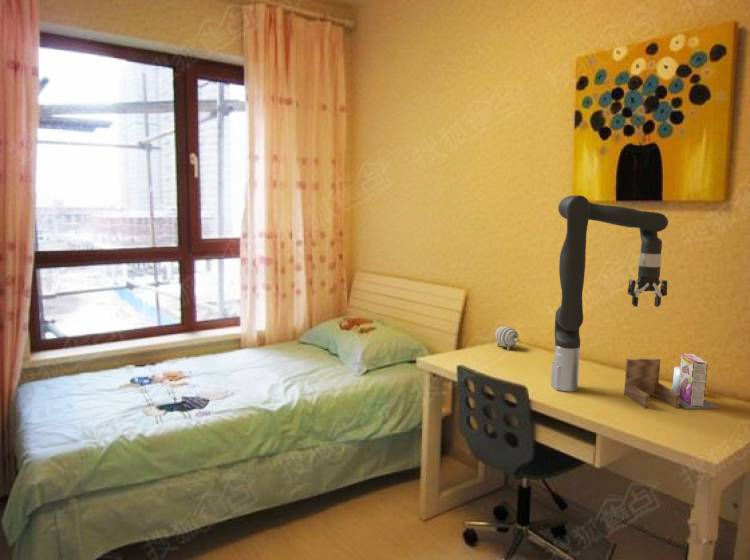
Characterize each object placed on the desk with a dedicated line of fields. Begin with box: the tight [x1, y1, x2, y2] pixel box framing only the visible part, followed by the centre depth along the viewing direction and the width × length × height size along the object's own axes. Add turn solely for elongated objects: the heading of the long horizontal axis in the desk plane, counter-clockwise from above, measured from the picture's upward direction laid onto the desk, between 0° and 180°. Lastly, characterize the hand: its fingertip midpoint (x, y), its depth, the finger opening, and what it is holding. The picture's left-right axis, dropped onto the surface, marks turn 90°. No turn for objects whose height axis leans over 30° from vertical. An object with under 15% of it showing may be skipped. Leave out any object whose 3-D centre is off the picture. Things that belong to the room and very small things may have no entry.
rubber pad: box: [679, 397, 719, 410], centre depth 189 cm, size 12×12×1 cm
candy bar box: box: [678, 353, 709, 407], centre depth 188 cm, size 11×5×16 cm, turn 170°
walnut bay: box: [623, 358, 680, 410], centre depth 189 cm, size 12×14×14 cm
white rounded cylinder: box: [671, 366, 680, 393], centre depth 199 cm, size 7×7×9 cm
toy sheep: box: [494, 325, 520, 351], centre depth 260 cm, size 11×17×11 cm, turn 32°
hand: (645, 306), depth 200 cm, fingers open, 8 cm apart
